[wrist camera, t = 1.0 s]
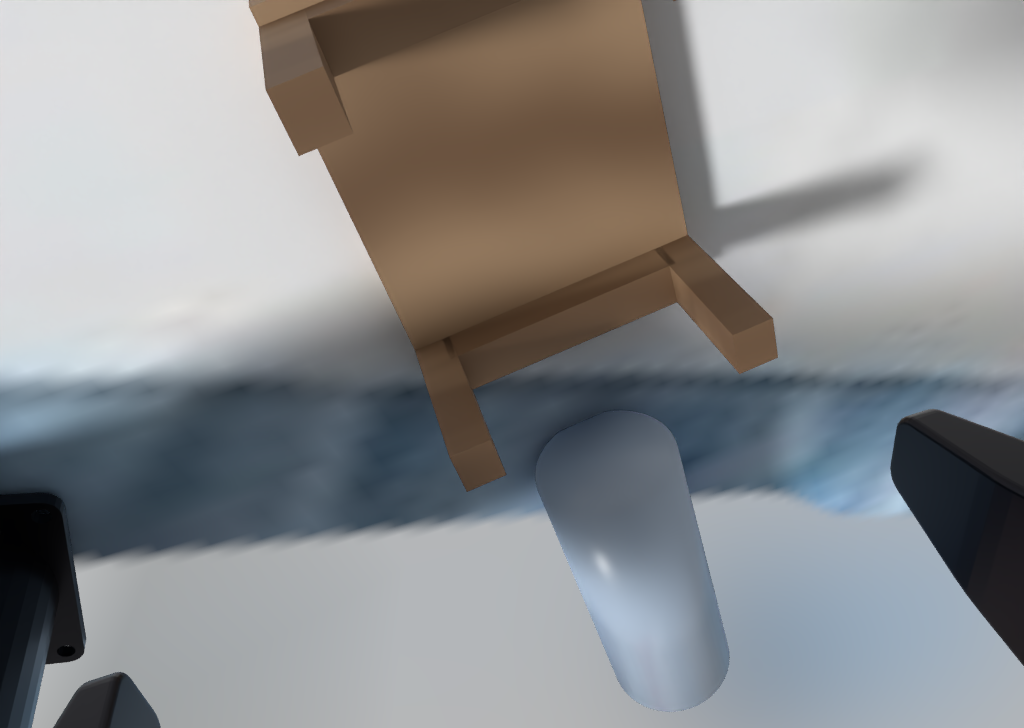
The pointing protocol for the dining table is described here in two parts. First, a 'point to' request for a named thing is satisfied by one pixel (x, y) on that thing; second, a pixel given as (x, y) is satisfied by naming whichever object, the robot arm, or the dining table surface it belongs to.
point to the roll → (637, 555)
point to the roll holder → (500, 182)
